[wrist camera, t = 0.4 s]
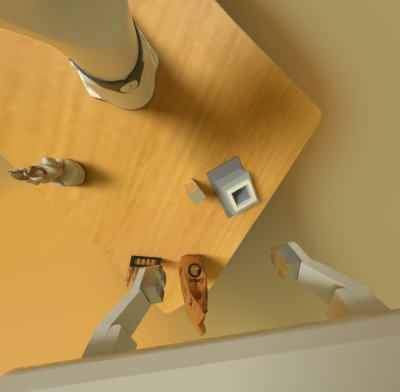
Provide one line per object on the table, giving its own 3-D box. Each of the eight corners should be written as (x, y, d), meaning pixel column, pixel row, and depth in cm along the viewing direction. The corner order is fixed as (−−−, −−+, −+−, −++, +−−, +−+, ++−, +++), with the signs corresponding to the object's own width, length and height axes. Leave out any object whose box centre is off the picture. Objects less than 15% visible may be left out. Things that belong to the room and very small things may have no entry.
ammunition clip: (160, 257, 56) (159, 285, 45) (159, 261, 57) (158, 290, 46) (131, 255, 53) (123, 285, 42) (130, 259, 53) (122, 289, 43)
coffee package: (203, 252, 60) (222, 307, 40) (200, 274, 64) (215, 334, 44) (179, 253, 58) (187, 313, 38) (177, 276, 62) (184, 341, 42)
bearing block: (206, 173, 48) (212, 178, 42) (236, 156, 49) (247, 158, 42) (227, 216, 57) (235, 226, 50) (253, 201, 57) (264, 209, 50)
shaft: (183, 184, 48) (188, 195, 38) (191, 178, 48) (198, 187, 38) (190, 192, 49) (196, 204, 39) (197, 185, 49) (206, 196, 39)
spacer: (225, 191, 44) (227, 192, 43) (247, 178, 45) (249, 179, 44) (234, 210, 48) (236, 212, 47) (254, 198, 48) (256, 200, 47)
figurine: (69, 154, 40) (-2, 136, 25) (92, 171, 41) (37, 163, 26) (53, 175, 40) (-27, 169, 25) (77, 191, 41) (13, 195, 26)
